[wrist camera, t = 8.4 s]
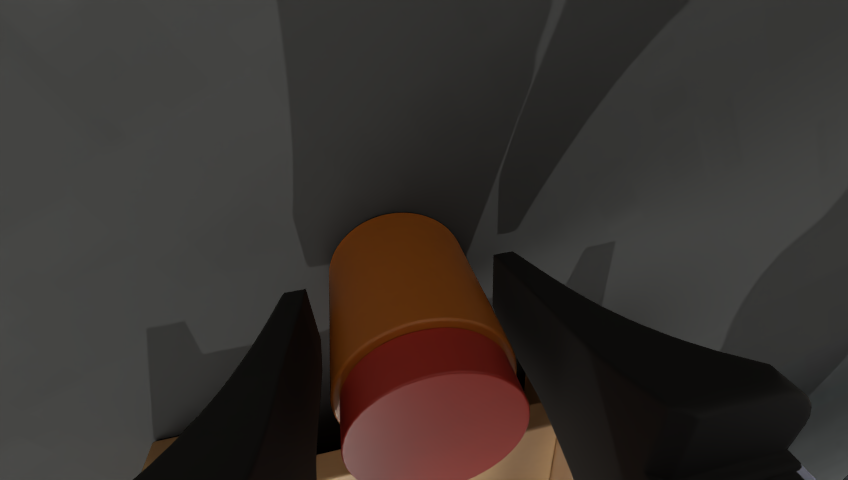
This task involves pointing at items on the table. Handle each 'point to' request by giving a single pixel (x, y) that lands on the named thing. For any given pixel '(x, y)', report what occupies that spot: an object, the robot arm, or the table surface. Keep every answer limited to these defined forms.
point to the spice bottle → (418, 357)
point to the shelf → (513, 476)
